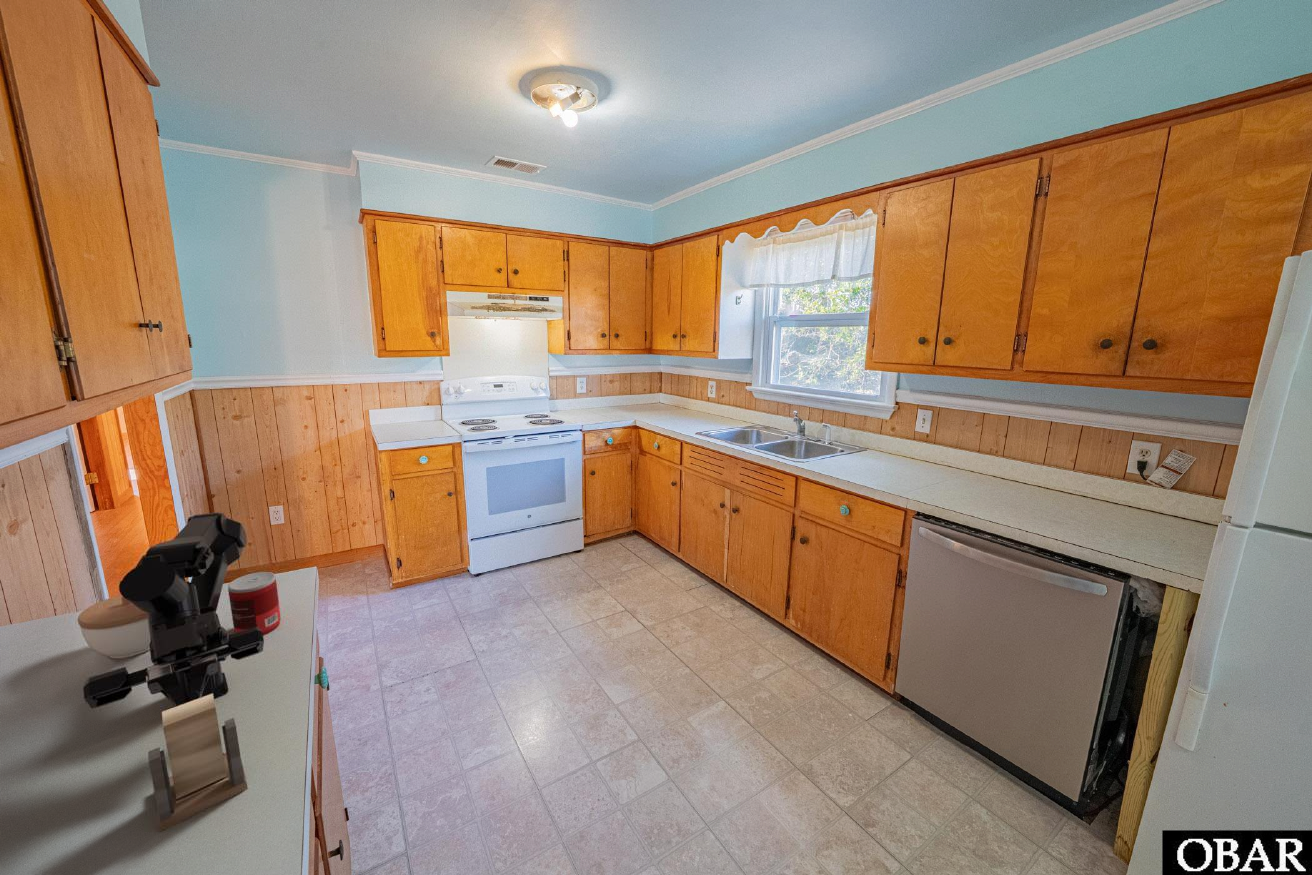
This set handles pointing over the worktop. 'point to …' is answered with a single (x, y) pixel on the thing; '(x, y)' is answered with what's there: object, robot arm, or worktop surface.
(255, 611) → the canned food
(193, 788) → the curved wooden panel
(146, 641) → the lidded bowl
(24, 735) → the worktop surface
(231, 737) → the wooden phone stand
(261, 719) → the worktop surface
